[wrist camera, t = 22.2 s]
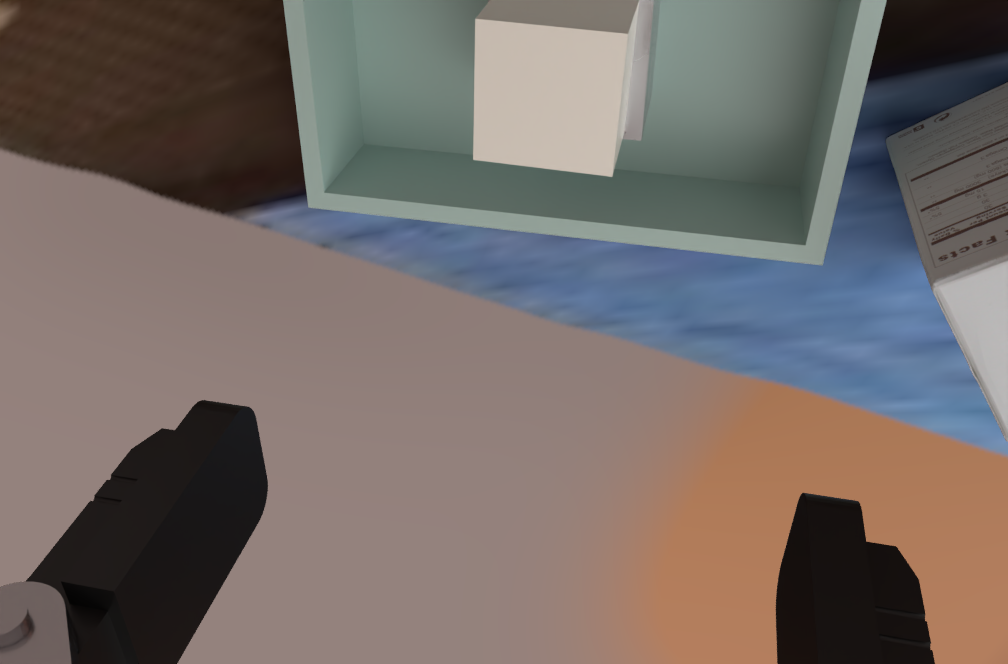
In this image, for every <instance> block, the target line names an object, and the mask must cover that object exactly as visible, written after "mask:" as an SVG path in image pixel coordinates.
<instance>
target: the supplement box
mask: <svg viewBox="0 0 1008 664" xmlns="http://www.w3.org/2000/svg"><path fill="white" fill-rule="evenodd" d="M886 146H887V149H888V152H889V155H890V158H891V161H892V164H893V167H894V170H895V173H896V176H897V179H898V183H899V186H900V190H901V193H902V196H903V200H904V203H905V207H906V210H907V213H908V217H909V220H910V223H911V227H912V230H913V234H914V237H915V240H916V244H917V247H918V251H919V254H920V258H921V261H922V264H923V267H924V269H925V272H926V275H927V278H928V281H929V283H930V286H931V289H932V291H933V293H934V295H935V297H936V299H937V301H938V303H939V305H940V307H941V309H942V311H943V313H944V315H945V317H946V319H947V321H948V324H949V326H950V328H951V330H952V332H953V334H954V336H955V338H956V340H957V342H958V344H959V346H960V348H961V350H962V352H963V354H964V356H965V358H966V360H967V363H968V365H969V367H970V369H971V371H972V374H973V376H974V377H975V379H976V380H977V382H978V384H979V386H980V388H981V390H982V392H983V394H984V396H985V398H986V400H987V403H988V405H989V407H990V409H991V411H992V413H993V415H994V417H995V419H996V421H997V423H998V425H999V427H1000V429H1001V432H1002V434H1003V436H1004V438H1005V440H1006V441H1007V442H1008V82H1007V83H1005V84H1003V85H1001V86H998V87H996V88H994V89H992V90H990V91H988V92H985V93H983V94H980V95H978V96H976V97H974V98H972V99H970V100H967V101H965V102H963V103H961V104H959V105H956V106H954V107H952V108H950V109H948V110H945V111H943V112H941V113H939V114H937V115H934V116H932V117H930V118H928V119H926V120H924V121H921V122H919V123H917V124H915V125H913V126H911V127H909V128H906V129H904V130H902V131H900V132H898V133H896V134H894V135H891V136H889V137H888V138H887V139H886Z"/></svg>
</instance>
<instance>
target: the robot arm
mask: <svg viewBox="0 0 1008 664" xmlns="http://www.w3.org/2000/svg"><path fill="white" fill-rule="evenodd" d="M267 491H268V481H267V475H266V469H265V464H264V458H263V453H262V448H261V443H260V437H259V432H258V426H257V421H256V416H255V414H254V411H253V410H252V409H251V408H250V407H246V406H239V405H232V404H226V403H219V402H213V401H206V400H202V401H199V402H197V403H196V404H195V405H194V406H193V407H192V409H191V410H190V411H189V413H188V414H187V415H186V417H185V418H184V419H183V420H182V422H181V423H180V425H179V426H178V427H177V428H176V430H169V429H161V430H159V431H158V432H156V433H155V434H153V435H152V436H150V437H149V438H147V439H146V440H144V441H143V442H141V443H140V444H138V445H137V446H135V447H134V448H132V449H131V450H130V452H129V453H128V454H127V455H126V457H125V458H124V459H123V460H122V462H121V463H120V464H119V465H118V467H117V468H116V469H115V471H114V472H113V473H112V474H111V479H110V480H106V482H105V483H104V484H103V486H102V487H101V488H100V489H99V491H98V492H97V493H96V494H95V498H94V501H90V502H89V503H88V504H87V506H86V507H85V508H84V509H83V511H82V512H81V513H80V515H79V516H78V517H77V518H76V520H75V521H74V522H73V523H72V524H71V526H70V527H69V529H68V530H67V531H66V532H65V533H64V535H63V536H62V537H61V538H60V540H59V541H58V542H57V543H56V545H55V546H54V547H53V549H52V550H51V551H50V552H49V554H48V555H47V556H46V557H45V558H44V560H43V561H42V562H41V563H40V565H39V566H38V567H37V569H36V570H35V571H34V572H33V574H32V575H31V576H30V577H29V578H28V579H27V580H26V581H25V582H18V583H12V584H9V585H4V586H1V587H0V664H177V663H178V661H179V659H180V658H181V656H182V654H183V653H184V651H185V649H186V647H187V646H188V644H189V642H190V640H191V639H192V637H193V635H194V633H195V632H196V630H197V628H198V626H199V625H200V623H201V621H202V620H203V618H204V616H205V614H206V613H207V611H208V609H209V607H210V605H211V604H212V602H213V600H214V599H215V597H216V595H217V594H218V592H219V590H220V588H221V587H222V585H223V583H224V581H225V580H226V578H227V576H228V574H229V573H230V571H231V569H232V567H233V566H234V564H235V562H236V560H237V558H238V557H239V555H240V554H241V552H242V550H243V548H244V547H245V545H246V543H247V541H248V540H249V538H250V536H251V535H252V533H253V531H254V529H255V527H256V526H257V524H258V522H259V520H260V518H261V516H262V514H263V511H264V507H265V503H266V499H267ZM776 596H777V597H776V631H777V663H778V664H935V662H934V657H933V652H932V650H930V644H931V641H930V637H929V631H928V626H927V622H926V621H925V610H924V605H923V599H922V594H921V589H920V584H919V580H918V578H917V576H916V575H915V573H914V572H913V570H912V569H911V568H910V566H909V564H908V563H907V561H906V560H905V559H904V557H903V556H902V554H901V553H900V551H899V550H898V548H897V547H896V546H889V545H884V544H877V543H871V542H866V537H865V530H864V523H863V516H862V510H861V506H860V503H859V502H858V501H853V500H847V499H840V498H834V497H827V496H820V495H814V494H807V493H802V494H801V496H800V498H799V501H798V504H797V508H796V512H795V515H794V519H793V523H792V526H791V530H790V533H789V537H788V541H787V545H786V548H785V552H784V556H783V559H782V563H781V567H780V572H779V578H778V585H777V595H776Z"/></svg>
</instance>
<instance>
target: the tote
mask: <svg viewBox="0 0 1008 664" xmlns="http://www.w3.org/2000/svg"><path fill="white" fill-rule="evenodd" d="M886 1H887V0H661V3H660V13H659V24H658V35H657V45H656V56H655V67H654V77H653V88H652V96H651V100H650V105H649V109H648V114H647V118H646V123H645V127H644V132H643V136H642V140H641V141H639V140H627V139H622V142H621V146H620V150H619V154H618V157H617V161H616V165H615V169H614V172H613V176H612V177H609V176H601V175H593V174H585V173H577V172H568V171H560V170H552V169H544V168H536V167H528V166H519V165H511V164H503V163H495V162H487V161H479V160H473V135H474V69H475V18H476V17H477V16H478V15H479V13H480V12H481V11H482V10H483V8H484V7H485V6H486V5H487V3H488V0H283V4H284V12H285V20H286V28H287V36H288V45H289V53H290V61H291V69H292V77H293V85H294V93H295V102H296V110H297V118H298V126H299V134H300V142H301V150H302V158H303V167H304V175H305V183H306V191H307V199H308V207H309V208H318V209H327V210H336V211H345V212H353V213H362V214H371V215H380V216H389V217H398V218H407V219H416V220H424V221H433V222H442V223H451V224H460V225H469V226H478V227H486V228H495V229H504V230H513V231H522V232H531V233H540V234H549V235H557V236H566V237H575V238H584V239H593V240H602V241H611V242H620V243H628V244H637V245H646V246H655V247H664V248H673V249H682V250H690V251H699V252H708V253H717V254H726V255H735V256H744V257H753V258H761V259H770V260H779V261H788V262H797V263H806V264H815V265H823V261H824V257H825V253H826V249H827V245H828V241H829V236H830V232H831V228H832V224H833V220H834V216H835V212H836V207H837V203H838V199H839V195H840V191H841V187H842V183H843V178H844V174H845V170H846V166H847V162H848V158H849V154H850V150H851V145H852V141H853V137H854V133H855V129H856V125H857V121H858V116H859V112H860V108H861V104H862V100H863V96H864V92H865V88H866V83H867V79H868V75H869V71H870V67H871V63H872V59H873V54H874V50H875V46H876V42H877V38H878V34H879V30H880V25H881V21H882V17H883V13H884V9H885V5H886Z"/></svg>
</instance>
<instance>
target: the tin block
mask: <svg viewBox="0 0 1008 664" xmlns="http://www.w3.org/2000/svg"><path fill="white" fill-rule="evenodd" d="M489 1H490V0H488V2H489ZM660 3H661V0H639V8H638V17H637V25H636V34H635V43H634V51H633V60H632V69H631V77H630V86H629V95H628V104H627V112H626V121H625V130H624V135H623V139H627V140H639V141H641V140H642V136H643V132H644V127H645V123H646V118H647V114H648V109H649V105H650V100H651V96H652V88H653V77H654V67H655V56H656V45H657V35H658V24H659V13H660Z"/></svg>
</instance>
